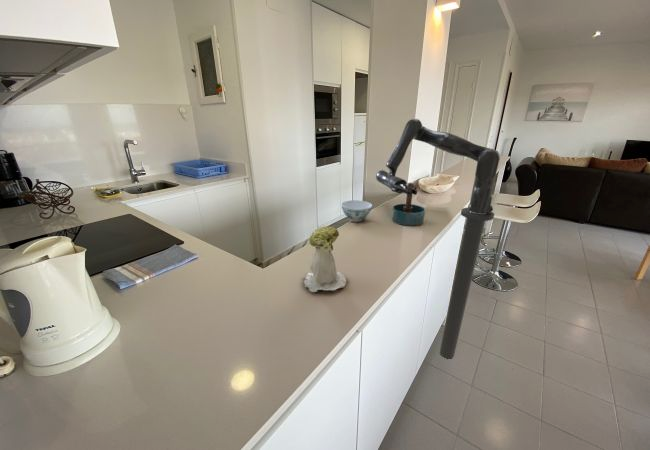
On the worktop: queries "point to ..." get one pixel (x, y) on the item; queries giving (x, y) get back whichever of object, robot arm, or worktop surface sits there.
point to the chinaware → (356, 209)
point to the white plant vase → (324, 262)
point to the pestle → (409, 199)
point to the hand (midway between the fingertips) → (412, 192)
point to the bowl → (408, 215)
